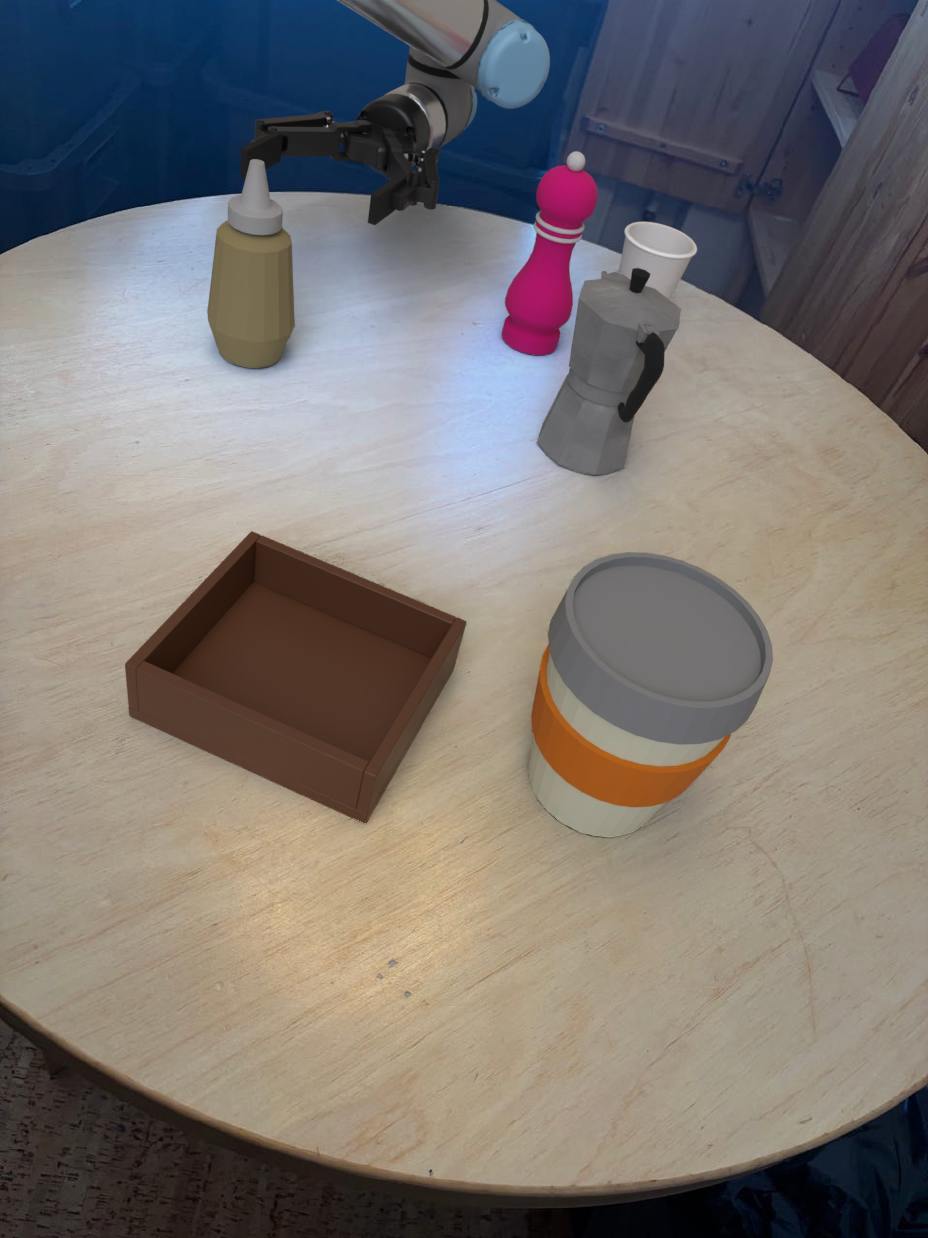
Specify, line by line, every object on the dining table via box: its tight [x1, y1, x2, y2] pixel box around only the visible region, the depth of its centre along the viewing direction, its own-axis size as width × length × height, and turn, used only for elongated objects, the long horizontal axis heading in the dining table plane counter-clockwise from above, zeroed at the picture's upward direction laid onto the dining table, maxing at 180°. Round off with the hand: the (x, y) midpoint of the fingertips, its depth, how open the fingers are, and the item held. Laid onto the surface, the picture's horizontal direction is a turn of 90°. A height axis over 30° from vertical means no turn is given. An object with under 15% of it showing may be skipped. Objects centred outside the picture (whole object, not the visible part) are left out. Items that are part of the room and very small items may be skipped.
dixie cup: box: [618, 221, 698, 301], centre depth 109 cm, size 8×8×10 cm
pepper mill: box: [501, 151, 599, 356], centre depth 97 cm, size 7×7×20 cm
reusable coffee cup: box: [527, 551, 774, 836], centre depth 58 cm, size 13×12×15 cm
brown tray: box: [124, 530, 467, 824], centre depth 62 cm, size 17×15×5 cm
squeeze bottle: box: [206, 159, 296, 369], centre depth 86 cm, size 8×8×18 cm
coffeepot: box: [536, 268, 682, 476], centre depth 84 cm, size 15×9×18 cm, turn 10°
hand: (307, 186), depth 89 cm, fingers open, 13 cm apart
